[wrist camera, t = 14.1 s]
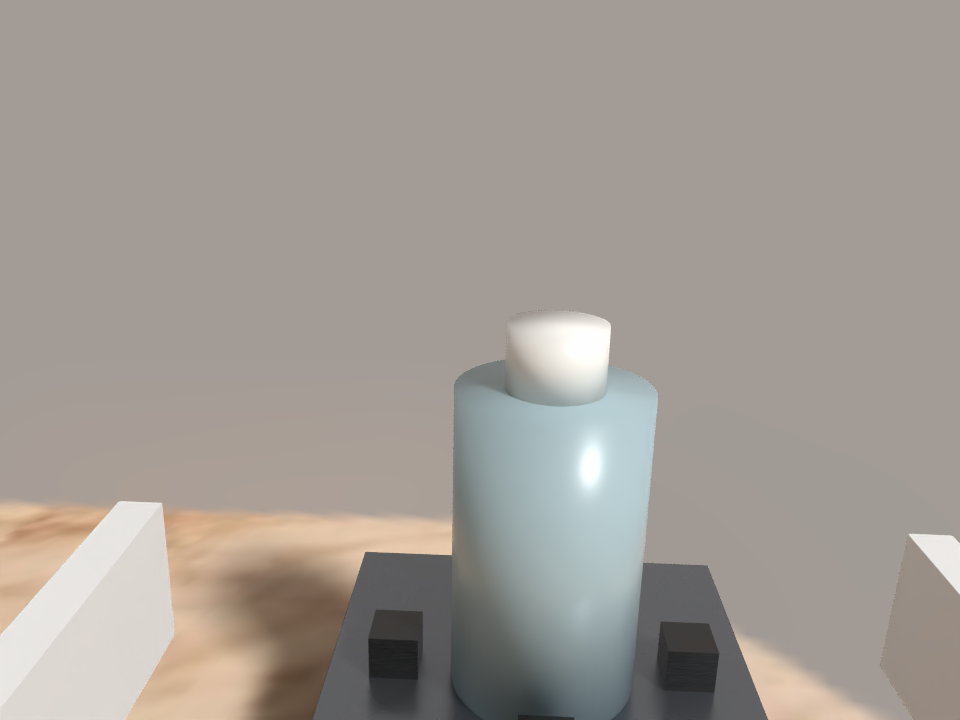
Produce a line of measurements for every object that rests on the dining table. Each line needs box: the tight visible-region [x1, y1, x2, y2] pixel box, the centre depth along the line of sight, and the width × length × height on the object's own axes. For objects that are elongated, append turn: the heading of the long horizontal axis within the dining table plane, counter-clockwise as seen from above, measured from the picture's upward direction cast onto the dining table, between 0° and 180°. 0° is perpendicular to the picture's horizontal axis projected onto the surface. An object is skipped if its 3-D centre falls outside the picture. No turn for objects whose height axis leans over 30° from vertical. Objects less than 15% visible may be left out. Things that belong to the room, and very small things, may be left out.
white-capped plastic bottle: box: [451, 310, 658, 720], centre depth 27 cm, size 6×6×12 cm
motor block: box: [313, 552, 768, 720], centre depth 30 cm, size 14×14×6 cm
